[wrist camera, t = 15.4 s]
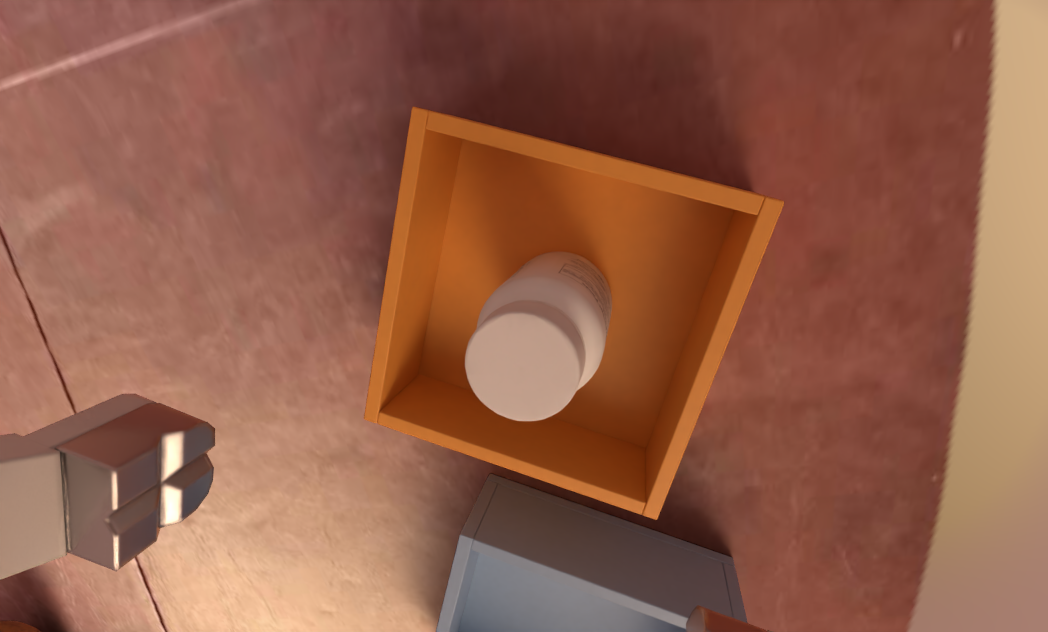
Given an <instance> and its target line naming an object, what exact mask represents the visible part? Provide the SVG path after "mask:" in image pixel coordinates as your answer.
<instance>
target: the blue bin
mask: <svg viewBox="0 0 1048 632" xmlns="http://www.w3.org/2000/svg"><path fill="white" fill-rule="evenodd" d="M697 605H699V606H702V607H704V608H707V609H710V610H713V611H715V612H718V613H721V614H724V615H726V616H729V617H732V618H735V619H737V620H740V621H743V622H746V623H747V618H746V614H745V610H744V605H743V601H742V596H741V592H740V587H739V583H738V579H737V574H736V570H735V565H734V561H733V558H732V557H729V556H726V555H724V554H721V553H718V552H715V551H712V550H709V549H706V548H703V547H701V546H698V545H695V544H692V543H689V542H686V541H683V540H680V539H678V538H675V537H672V536H669V535H666V534H663V533H660V532H657V531H655V530H652V529H649V528H646V527H643V526H640V525H637V524H634V523H632V522H629V521H626V520H623V519H620V518H617V517H614V516H611V515H609V514H606V513H603V512H600V511H597V510H594V509H591V508H588V507H586V506H583V505H580V504H577V503H574V502H571V501H568V500H565V499H563V498H560V497H557V496H554V495H551V494H548V493H545V492H542V491H540V490H537V489H534V488H531V487H528V486H525V485H522V484H519V483H517V482H514V481H511V480H508V479H505V478H502V477H499V476H496V475H494V474H489V476H488V478H487V480H486V482H485V484H484V486H483V488H482V490H481V492H480V494H479V496H478V498H477V500H476V502H475V504H474V506H473V508H472V510H471V512H470V514H469V517H468V519H467V521H466V523H465V525H464V527H463V529H462V531H461V533H460V536H459V540H458V544H457V548H456V552H455V556H454V560H453V564H452V568H451V572H450V576H449V580H448V584H447V588H446V592H445V596H444V600H443V604H442V608H441V612H440V617H439V621H438V625H437V629H436V632H686V622H687V620H688V618H689V616H690V614H691V612H692V611H693V610H694V608H695V607H696V606H697Z"/></svg>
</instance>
